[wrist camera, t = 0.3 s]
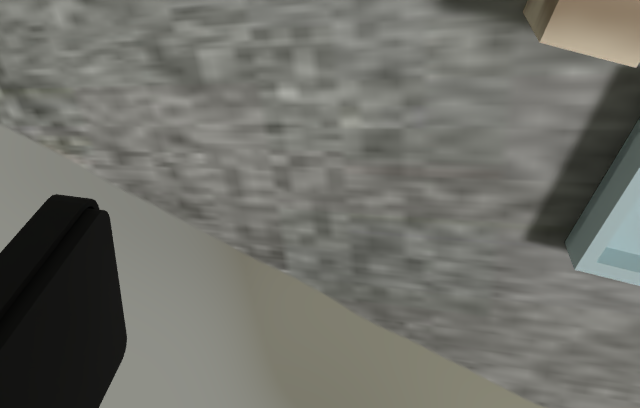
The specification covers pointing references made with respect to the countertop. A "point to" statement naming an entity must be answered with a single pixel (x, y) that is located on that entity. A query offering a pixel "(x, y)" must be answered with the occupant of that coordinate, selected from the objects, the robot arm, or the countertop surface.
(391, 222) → the countertop surface
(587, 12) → the birch block
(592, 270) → the teal tray
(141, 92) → the countertop surface
